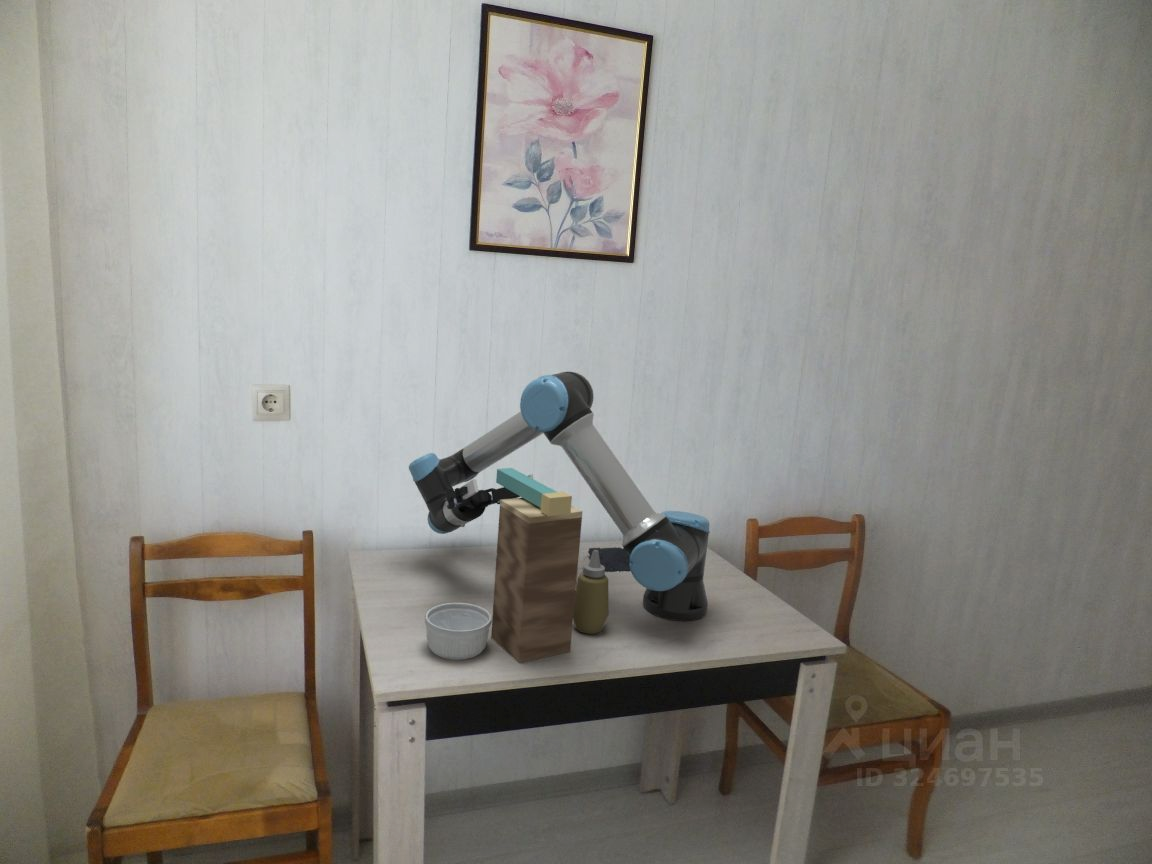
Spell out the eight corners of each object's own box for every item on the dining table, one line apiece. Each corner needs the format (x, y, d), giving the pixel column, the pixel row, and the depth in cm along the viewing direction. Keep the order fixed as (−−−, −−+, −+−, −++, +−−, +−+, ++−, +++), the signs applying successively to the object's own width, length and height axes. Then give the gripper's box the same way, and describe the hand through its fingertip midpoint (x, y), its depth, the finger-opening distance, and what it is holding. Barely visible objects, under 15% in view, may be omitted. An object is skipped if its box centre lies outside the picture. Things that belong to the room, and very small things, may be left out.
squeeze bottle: (570, 619, 187) (577, 542, 183) (607, 622, 187) (614, 546, 183) (569, 635, 179) (576, 555, 175) (607, 638, 179) (614, 559, 175)
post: (491, 637, 175) (500, 499, 169) (540, 627, 181) (551, 494, 175) (519, 662, 165) (529, 517, 159) (570, 651, 172) (582, 511, 165)
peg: (492, 484, 179) (494, 467, 178) (513, 482, 181) (514, 466, 181) (548, 516, 160) (549, 498, 159) (570, 513, 163) (571, 495, 162)
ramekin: (496, 660, 165) (498, 627, 164) (429, 666, 161) (431, 633, 160) (481, 631, 178) (483, 600, 176) (418, 636, 173) (420, 604, 172)
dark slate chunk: (581, 553, 230) (583, 537, 229) (655, 551, 237) (656, 535, 236) (600, 574, 216) (602, 557, 215) (678, 571, 223) (680, 554, 222)
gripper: (514, 516, 202) (557, 494, 184) (417, 527, 188) (453, 505, 171) (509, 486, 203) (551, 462, 186) (412, 495, 190) (447, 470, 173)
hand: (504, 482), depth 179 cm, fingers open, 13 cm apart
